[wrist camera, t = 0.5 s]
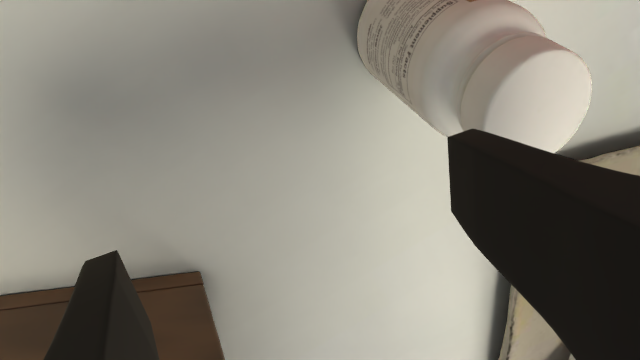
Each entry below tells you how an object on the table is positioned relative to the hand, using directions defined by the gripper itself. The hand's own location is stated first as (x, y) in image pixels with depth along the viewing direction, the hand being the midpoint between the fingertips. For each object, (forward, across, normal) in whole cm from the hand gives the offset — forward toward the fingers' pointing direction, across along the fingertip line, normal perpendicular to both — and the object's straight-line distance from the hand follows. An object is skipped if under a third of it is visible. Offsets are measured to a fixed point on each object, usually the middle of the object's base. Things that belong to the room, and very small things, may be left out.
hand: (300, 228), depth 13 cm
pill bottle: (+10, -7, +1) cm, 13 cm away
